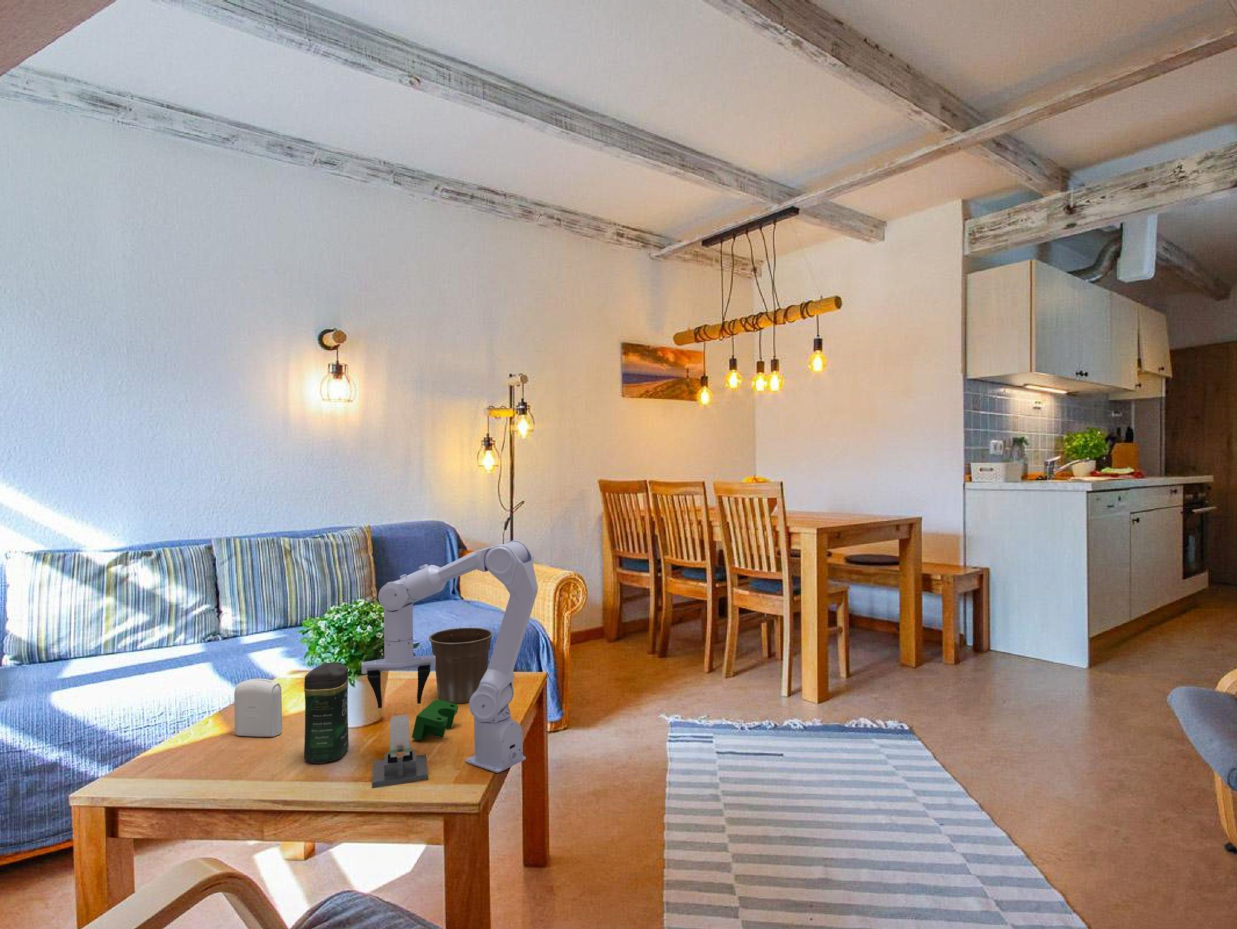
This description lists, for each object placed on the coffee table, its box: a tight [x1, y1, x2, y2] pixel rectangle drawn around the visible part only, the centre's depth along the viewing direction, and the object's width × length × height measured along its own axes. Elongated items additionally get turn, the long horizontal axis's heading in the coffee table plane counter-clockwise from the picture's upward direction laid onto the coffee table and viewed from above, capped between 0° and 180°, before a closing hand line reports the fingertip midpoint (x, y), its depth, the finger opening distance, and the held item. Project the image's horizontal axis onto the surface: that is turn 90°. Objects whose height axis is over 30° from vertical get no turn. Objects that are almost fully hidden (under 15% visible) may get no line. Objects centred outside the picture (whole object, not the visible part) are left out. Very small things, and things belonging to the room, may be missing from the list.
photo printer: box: [233, 678, 283, 738], centre depth 156 cm, size 10×4×12 cm, turn 81°
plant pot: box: [428, 627, 494, 705], centre depth 180 cm, size 16×16×16 cm
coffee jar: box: [303, 661, 350, 764], centre depth 144 cm, size 10×8×19 cm
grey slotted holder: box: [371, 749, 429, 789], centre depth 135 cm, size 10×10×5 cm
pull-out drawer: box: [389, 713, 411, 757], centre depth 135 cm, size 4×5×6 cm
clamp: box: [411, 698, 459, 742], centre depth 155 cm, size 12×6×9 cm, turn 168°
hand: (399, 704), depth 143 cm, fingers open, 7 cm apart
